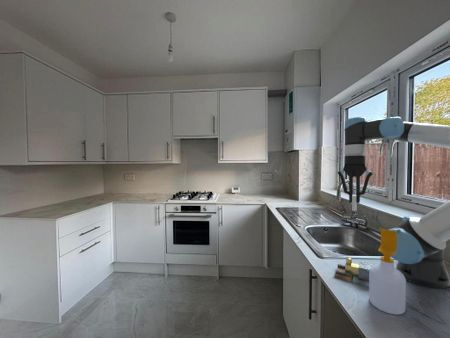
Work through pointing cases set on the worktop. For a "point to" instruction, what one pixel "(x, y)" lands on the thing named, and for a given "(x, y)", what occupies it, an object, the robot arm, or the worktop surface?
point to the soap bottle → (387, 278)
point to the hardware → (363, 270)
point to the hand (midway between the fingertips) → (354, 210)
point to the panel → (351, 278)
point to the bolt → (351, 267)
